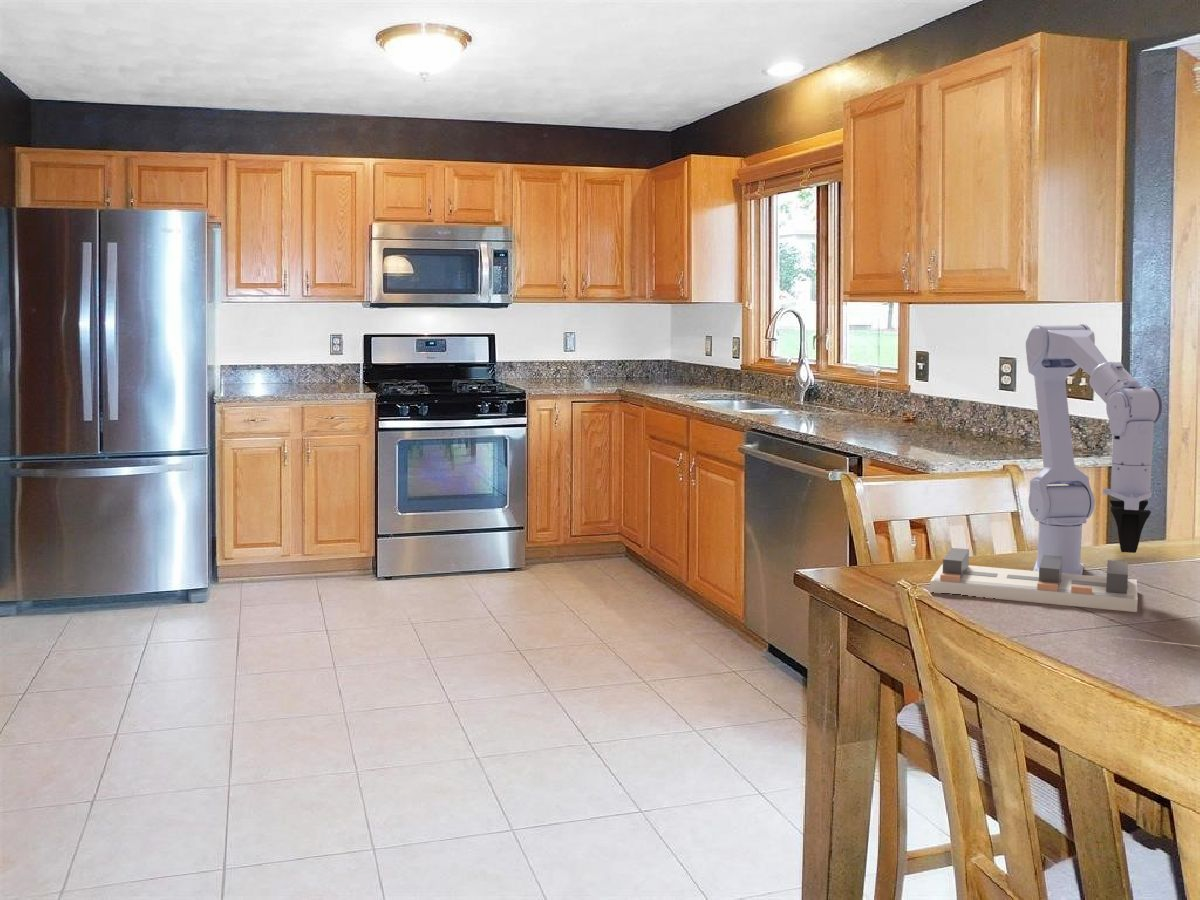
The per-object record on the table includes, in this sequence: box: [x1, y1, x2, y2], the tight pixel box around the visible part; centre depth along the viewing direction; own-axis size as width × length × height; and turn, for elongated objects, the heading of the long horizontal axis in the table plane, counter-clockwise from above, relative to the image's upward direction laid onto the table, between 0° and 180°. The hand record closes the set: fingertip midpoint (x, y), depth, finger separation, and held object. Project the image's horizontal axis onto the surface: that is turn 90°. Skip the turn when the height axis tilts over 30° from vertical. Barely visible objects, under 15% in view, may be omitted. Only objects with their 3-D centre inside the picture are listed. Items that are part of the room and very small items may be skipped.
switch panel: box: [929, 563, 1139, 613], centre depth 184 cm, size 14×31×3 cm, turn 65°
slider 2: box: [1106, 559, 1129, 593], centre depth 179 cm, size 10×3×3 cm, turn 155°
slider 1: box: [942, 547, 970, 579], centre depth 190 cm, size 10×3×3 cm, turn 155°
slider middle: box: [1039, 555, 1062, 587], centre depth 184 cm, size 10×3×3 cm, turn 155°
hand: (1127, 547), depth 178 cm, fingers open, 7 cm apart
